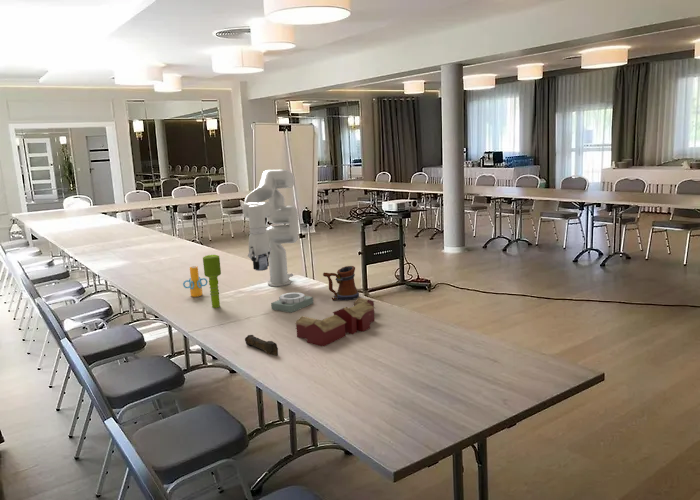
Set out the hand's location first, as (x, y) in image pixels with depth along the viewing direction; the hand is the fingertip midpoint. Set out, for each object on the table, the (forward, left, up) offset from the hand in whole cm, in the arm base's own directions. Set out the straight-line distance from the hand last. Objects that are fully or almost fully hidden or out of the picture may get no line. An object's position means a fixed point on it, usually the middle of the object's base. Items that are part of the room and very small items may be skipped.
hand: (261, 267), depth 279 cm
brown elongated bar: (+49, +44, -17) cm, 68 cm away
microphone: (+16, -16, -17) cm, 28 cm away
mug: (-20, +32, -17) cm, 41 cm away
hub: (0, 0, -1) cm, 1 cm away
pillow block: (0, +18, -17) cm, 25 cm away
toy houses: (+13, +57, -18) cm, 61 cm away
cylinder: (+6, -41, -17) cm, 45 cm away
